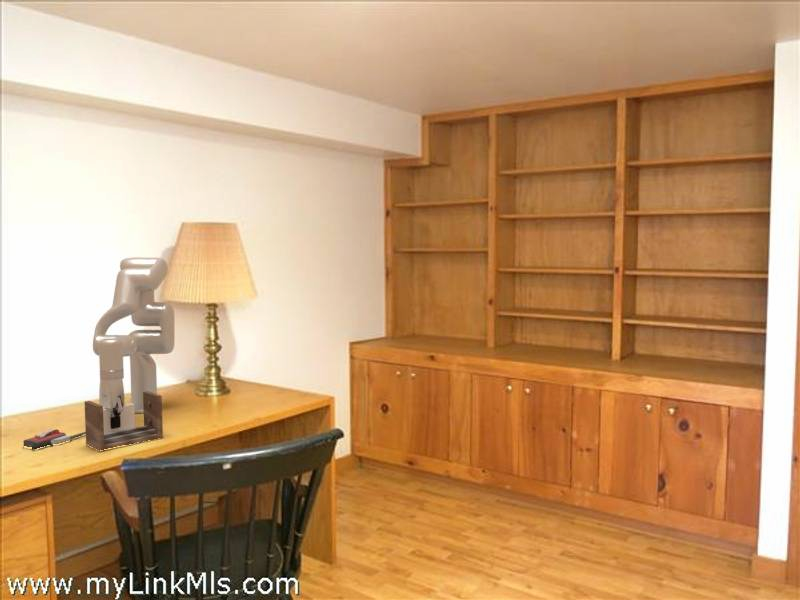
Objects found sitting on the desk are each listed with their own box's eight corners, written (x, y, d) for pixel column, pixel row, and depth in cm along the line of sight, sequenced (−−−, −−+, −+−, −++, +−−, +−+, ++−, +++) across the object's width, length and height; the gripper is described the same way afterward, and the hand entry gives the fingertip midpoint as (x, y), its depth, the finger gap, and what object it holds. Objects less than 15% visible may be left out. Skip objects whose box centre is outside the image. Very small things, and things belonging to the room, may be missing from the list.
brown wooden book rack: (148, 432, 231) (147, 391, 230) (162, 438, 224) (161, 395, 223) (86, 445, 216) (84, 401, 214) (99, 452, 209) (97, 406, 208)
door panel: (131, 428, 236) (131, 403, 235) (136, 430, 234) (135, 404, 233) (91, 436, 226) (90, 410, 225) (96, 438, 224) (95, 412, 223)
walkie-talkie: (38, 453, 209) (90, 436, 227) (37, 439, 208) (89, 423, 227) (18, 450, 212) (71, 433, 230) (18, 436, 212) (70, 421, 230)
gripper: (90, 372, 231) (92, 424, 233) (111, 379, 220) (113, 433, 222) (112, 370, 237) (114, 420, 238) (133, 376, 226) (135, 429, 227)
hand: (113, 426), depth 230 cm, fingers closed on door panel, 2 cm apart
